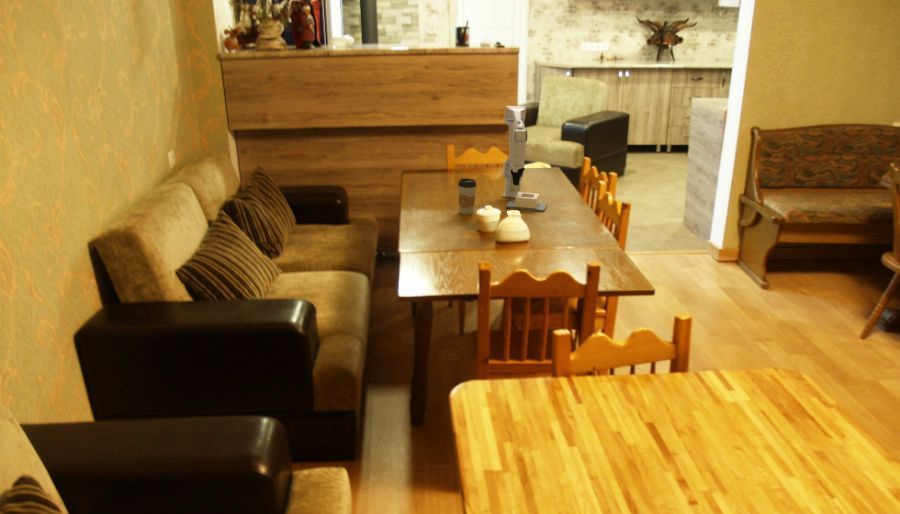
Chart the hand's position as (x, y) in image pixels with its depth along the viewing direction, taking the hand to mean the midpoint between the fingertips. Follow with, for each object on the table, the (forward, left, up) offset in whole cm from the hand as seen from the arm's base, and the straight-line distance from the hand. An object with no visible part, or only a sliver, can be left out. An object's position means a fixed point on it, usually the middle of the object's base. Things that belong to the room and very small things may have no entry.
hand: (516, 184), depth 325 cm
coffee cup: (+19, -20, -11) cm, 30 cm away
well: (0, +5, -10) cm, 12 cm away
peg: (0, -1, -3) cm, 3 cm away
